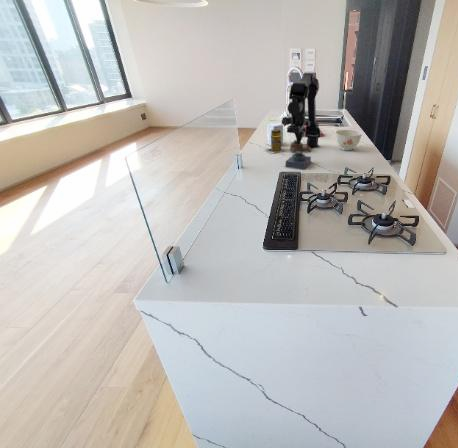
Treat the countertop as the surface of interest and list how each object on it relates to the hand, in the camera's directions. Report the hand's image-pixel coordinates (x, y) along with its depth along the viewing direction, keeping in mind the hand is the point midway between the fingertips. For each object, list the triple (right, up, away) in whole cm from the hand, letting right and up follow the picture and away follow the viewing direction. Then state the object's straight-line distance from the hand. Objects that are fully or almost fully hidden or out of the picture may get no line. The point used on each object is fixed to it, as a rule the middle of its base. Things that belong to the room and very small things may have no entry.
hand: (298, 143), depth 147 cm
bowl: (+30, +5, +32) cm, 44 cm away
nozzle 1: (-1, +7, +25) cm, 26 cm away
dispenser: (0, -10, +6) cm, 11 cm away
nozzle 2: (0, -6, +3) cm, 7 cm away
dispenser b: (+1, +4, +28) cm, 28 cm away
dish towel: (+8, +27, +66) cm, 72 cm away
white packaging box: (-15, +10, +37) cm, 42 cm away
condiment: (-15, +3, +26) cm, 30 cm away
